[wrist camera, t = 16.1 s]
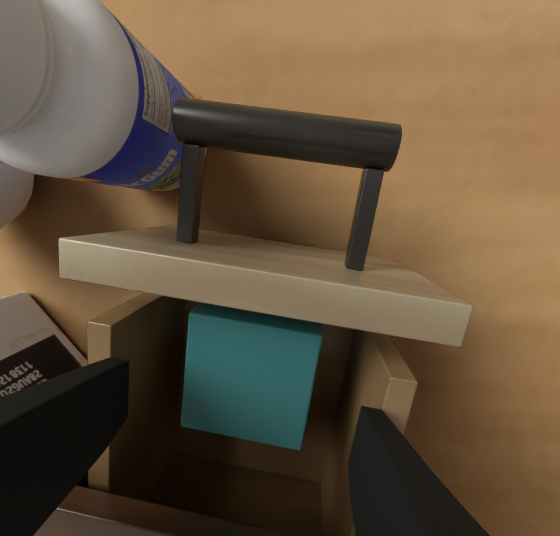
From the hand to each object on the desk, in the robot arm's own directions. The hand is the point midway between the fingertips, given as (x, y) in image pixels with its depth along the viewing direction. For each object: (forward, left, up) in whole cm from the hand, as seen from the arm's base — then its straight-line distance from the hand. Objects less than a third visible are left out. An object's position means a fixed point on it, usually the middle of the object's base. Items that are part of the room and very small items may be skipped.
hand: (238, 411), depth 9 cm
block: (0, 0, -6) cm, 6 cm away
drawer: (0, 0, -7) cm, 7 cm away
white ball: (+17, -6, -8) cm, 20 cm away
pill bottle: (+7, -9, -8) cm, 14 cm away
